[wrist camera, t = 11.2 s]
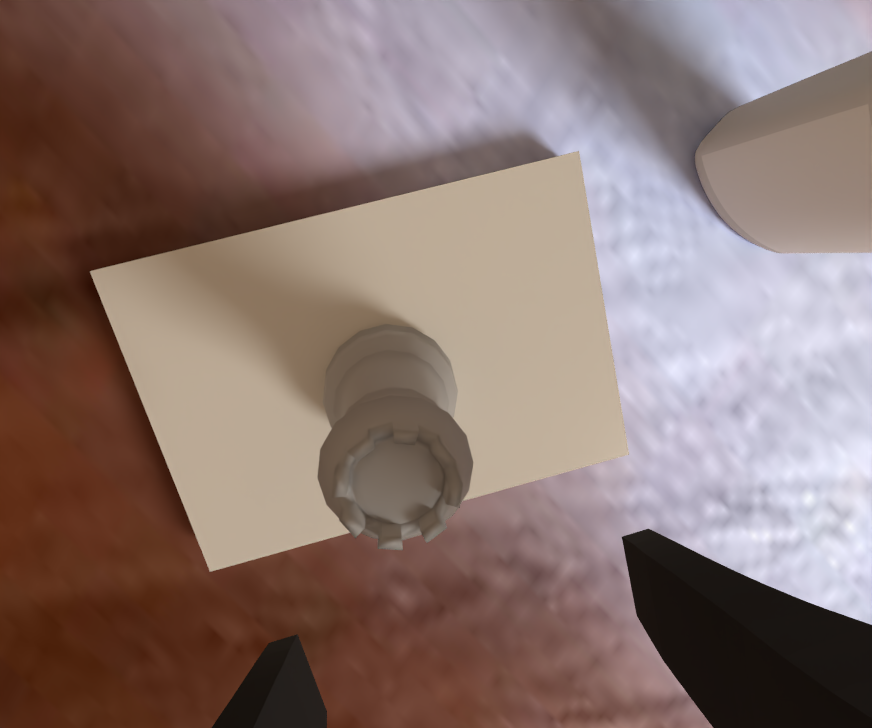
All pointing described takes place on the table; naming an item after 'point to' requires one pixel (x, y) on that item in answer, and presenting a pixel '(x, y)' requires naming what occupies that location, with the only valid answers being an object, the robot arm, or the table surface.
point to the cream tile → (362, 309)
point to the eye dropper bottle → (797, 164)
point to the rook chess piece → (393, 437)
